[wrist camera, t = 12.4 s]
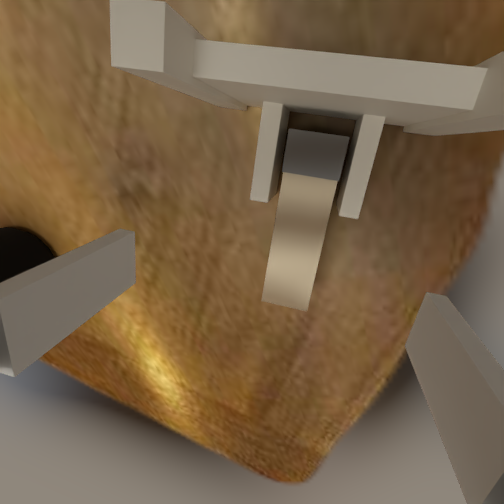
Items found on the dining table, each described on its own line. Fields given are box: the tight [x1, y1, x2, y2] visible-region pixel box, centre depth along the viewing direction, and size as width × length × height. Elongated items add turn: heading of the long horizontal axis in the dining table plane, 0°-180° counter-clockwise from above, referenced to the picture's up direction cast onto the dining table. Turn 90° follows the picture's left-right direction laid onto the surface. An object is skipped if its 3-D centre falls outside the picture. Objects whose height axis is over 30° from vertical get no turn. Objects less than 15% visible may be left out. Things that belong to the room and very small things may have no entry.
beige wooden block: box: [262, 128, 350, 311], centre depth 26 cm, size 14×4×5 cm, turn 172°
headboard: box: [110, 0, 504, 219], centre depth 19 cm, size 18×9×15 cm, turn 82°
